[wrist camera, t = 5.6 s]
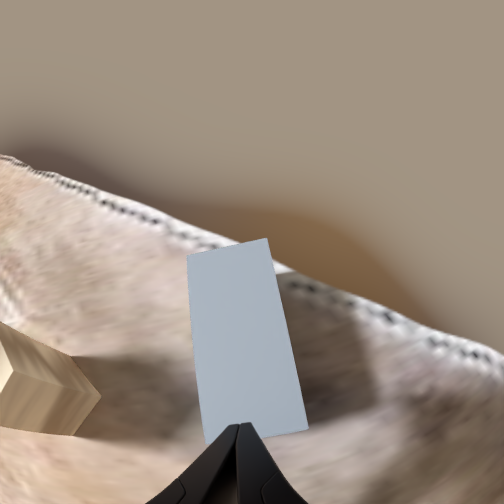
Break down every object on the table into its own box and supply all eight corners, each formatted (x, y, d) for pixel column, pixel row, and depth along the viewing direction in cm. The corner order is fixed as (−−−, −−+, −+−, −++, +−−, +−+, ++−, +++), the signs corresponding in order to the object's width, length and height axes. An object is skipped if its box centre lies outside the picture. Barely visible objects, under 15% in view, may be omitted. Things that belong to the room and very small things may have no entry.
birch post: (101, 396, 18) (13, 370, 10) (72, 435, 16) (-15, 422, 8) (70, 356, 20) (-9, 316, 12) (44, 393, 18) (-35, 366, 11)
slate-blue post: (308, 429, 11) (266, 237, 17) (205, 444, 12) (186, 255, 18) (305, 424, 16) (273, 276, 22) (228, 437, 16) (208, 289, 22)
